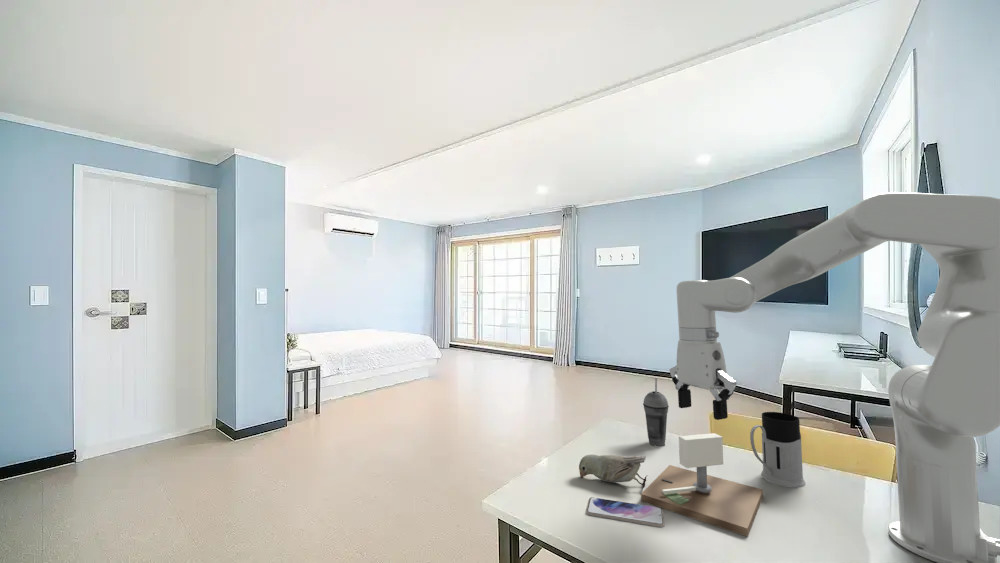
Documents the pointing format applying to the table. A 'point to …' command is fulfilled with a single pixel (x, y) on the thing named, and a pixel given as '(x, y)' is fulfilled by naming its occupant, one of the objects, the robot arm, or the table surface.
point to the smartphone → (625, 512)
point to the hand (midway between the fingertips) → (702, 412)
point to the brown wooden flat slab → (706, 499)
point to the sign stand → (699, 458)
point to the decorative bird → (612, 467)
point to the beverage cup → (656, 417)
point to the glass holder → (780, 449)
